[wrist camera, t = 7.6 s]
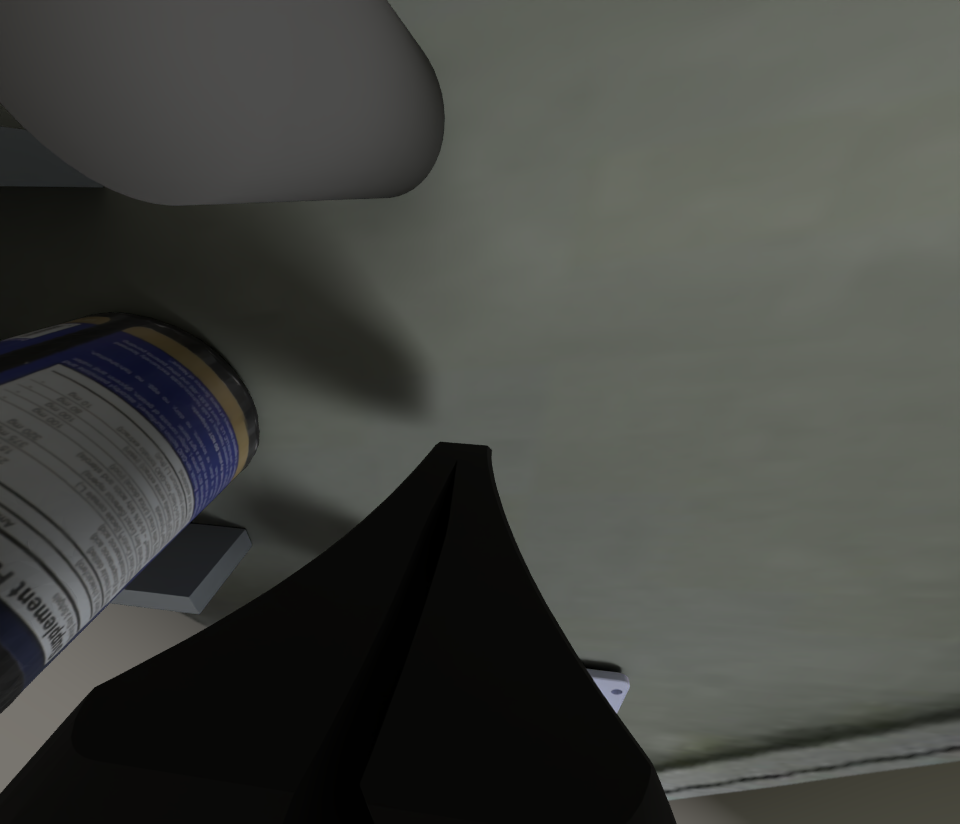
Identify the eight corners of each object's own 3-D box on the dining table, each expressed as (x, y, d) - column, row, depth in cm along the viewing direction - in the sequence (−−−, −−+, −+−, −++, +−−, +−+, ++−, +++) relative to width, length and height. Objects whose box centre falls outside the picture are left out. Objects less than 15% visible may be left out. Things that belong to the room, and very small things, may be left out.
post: (445, 200, 9) (326, 212, 3) (319, 195, 9) (27, 199, 4) (443, 17, 7) (219, -469, 2) (290, 16, 7) (-287, -417, 2)
